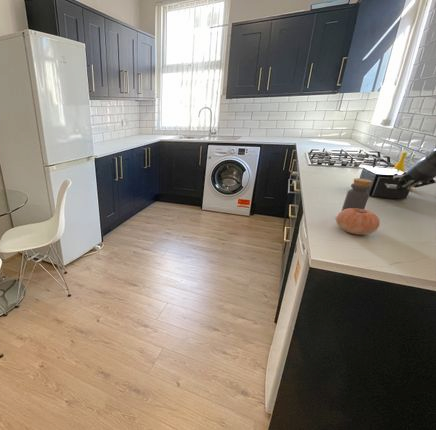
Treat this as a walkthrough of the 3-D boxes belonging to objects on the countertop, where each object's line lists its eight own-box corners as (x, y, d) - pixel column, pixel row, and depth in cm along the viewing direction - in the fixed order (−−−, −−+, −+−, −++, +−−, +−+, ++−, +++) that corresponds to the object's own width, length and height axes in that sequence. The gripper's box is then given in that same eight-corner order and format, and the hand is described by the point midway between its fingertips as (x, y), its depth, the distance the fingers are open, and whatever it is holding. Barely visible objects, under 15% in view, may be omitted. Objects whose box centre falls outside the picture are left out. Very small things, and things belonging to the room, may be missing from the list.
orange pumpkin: (383, 240, 86) (393, 216, 83) (344, 238, 88) (352, 214, 85) (361, 226, 96) (369, 204, 93) (326, 224, 97) (333, 202, 94)
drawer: (411, 201, 116) (420, 182, 112) (377, 198, 120) (384, 179, 116) (391, 190, 131) (398, 172, 128) (361, 187, 135) (367, 170, 132)
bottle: (335, 216, 103) (348, 177, 98) (353, 218, 102) (367, 178, 97) (344, 223, 98) (358, 181, 93) (363, 224, 97) (378, 182, 91)
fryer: (404, 199, 122) (413, 176, 118) (368, 195, 126) (376, 173, 122) (388, 189, 134) (396, 169, 130) (356, 187, 138) (363, 167, 135)
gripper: (407, 173, 101) (379, 195, 116) (456, 176, 96) (421, 199, 112) (405, 156, 104) (378, 180, 119) (453, 158, 99) (419, 183, 114)
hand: (399, 189), depth 115 cm, fingers closed
